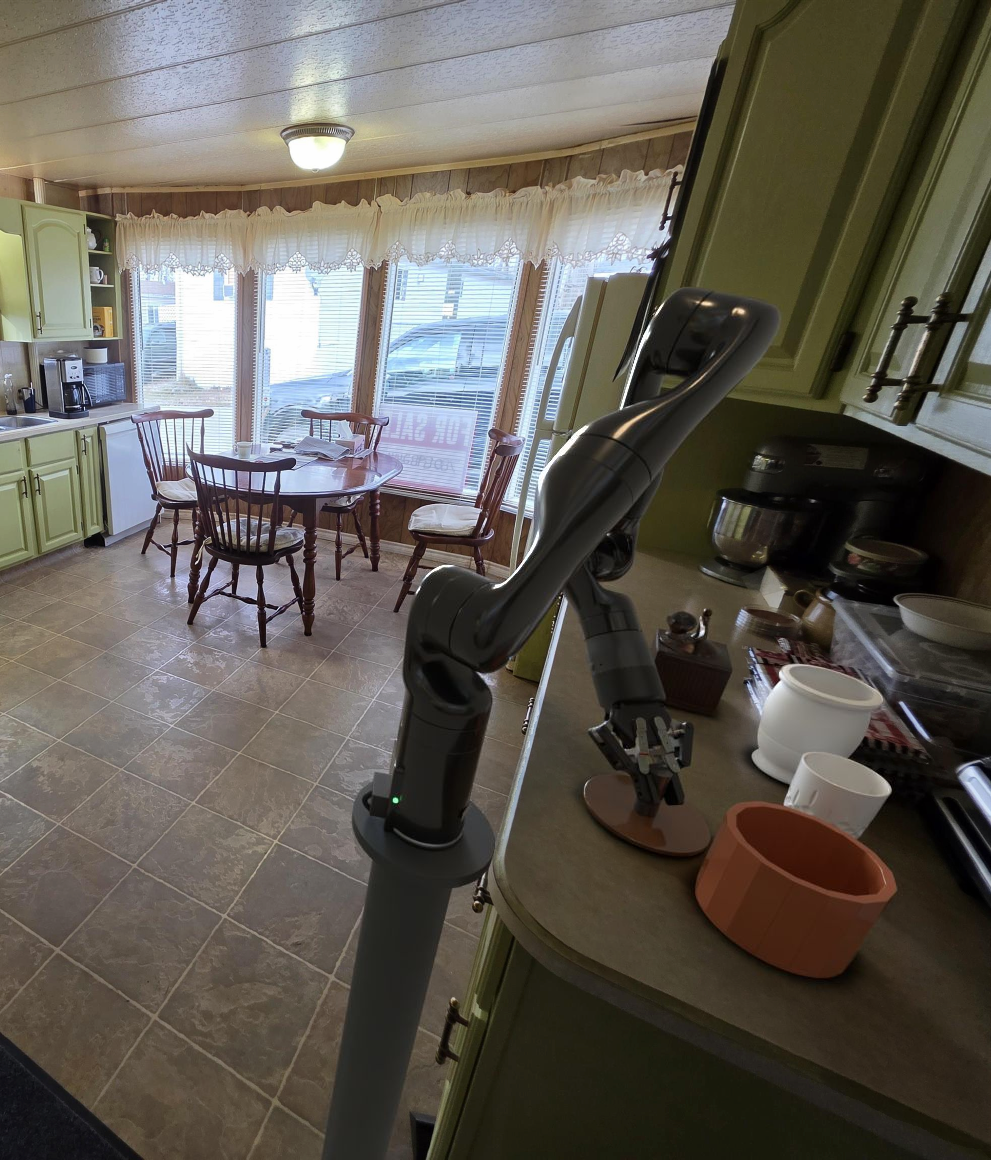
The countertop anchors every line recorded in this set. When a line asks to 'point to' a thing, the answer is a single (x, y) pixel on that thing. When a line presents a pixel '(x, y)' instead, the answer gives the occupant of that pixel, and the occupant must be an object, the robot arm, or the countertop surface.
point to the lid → (646, 815)
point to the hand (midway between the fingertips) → (663, 805)
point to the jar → (812, 718)
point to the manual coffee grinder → (691, 663)
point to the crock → (792, 888)
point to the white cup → (837, 791)
